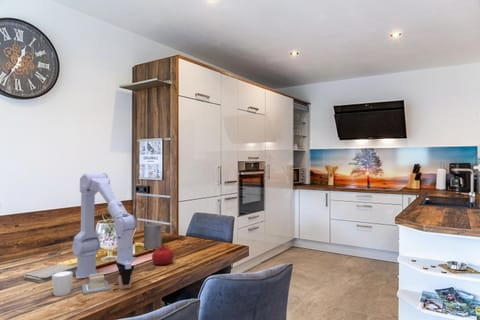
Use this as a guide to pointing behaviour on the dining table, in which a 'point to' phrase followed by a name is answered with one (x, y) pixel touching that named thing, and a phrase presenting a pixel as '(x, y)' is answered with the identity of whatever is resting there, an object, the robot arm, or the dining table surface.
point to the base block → (96, 281)
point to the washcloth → (48, 273)
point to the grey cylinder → (62, 283)
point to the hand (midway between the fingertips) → (124, 282)
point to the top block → (122, 283)
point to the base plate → (87, 290)
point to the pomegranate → (162, 256)
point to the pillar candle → (152, 235)
